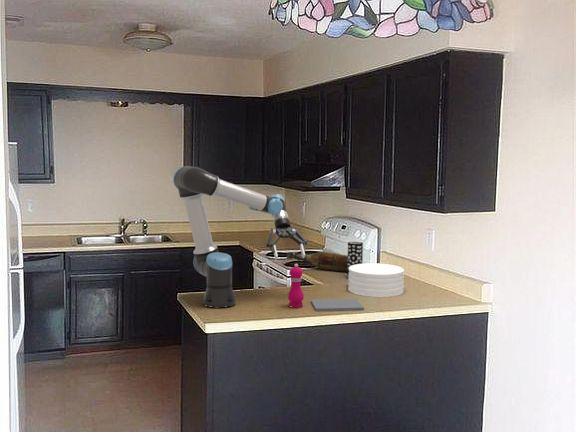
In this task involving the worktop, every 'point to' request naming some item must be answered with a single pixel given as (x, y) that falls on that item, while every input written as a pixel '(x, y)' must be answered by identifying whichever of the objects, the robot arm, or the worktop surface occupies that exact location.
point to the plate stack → (376, 280)
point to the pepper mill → (295, 287)
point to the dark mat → (336, 304)
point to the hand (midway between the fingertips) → (290, 257)
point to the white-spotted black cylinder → (354, 254)
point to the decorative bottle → (324, 260)
